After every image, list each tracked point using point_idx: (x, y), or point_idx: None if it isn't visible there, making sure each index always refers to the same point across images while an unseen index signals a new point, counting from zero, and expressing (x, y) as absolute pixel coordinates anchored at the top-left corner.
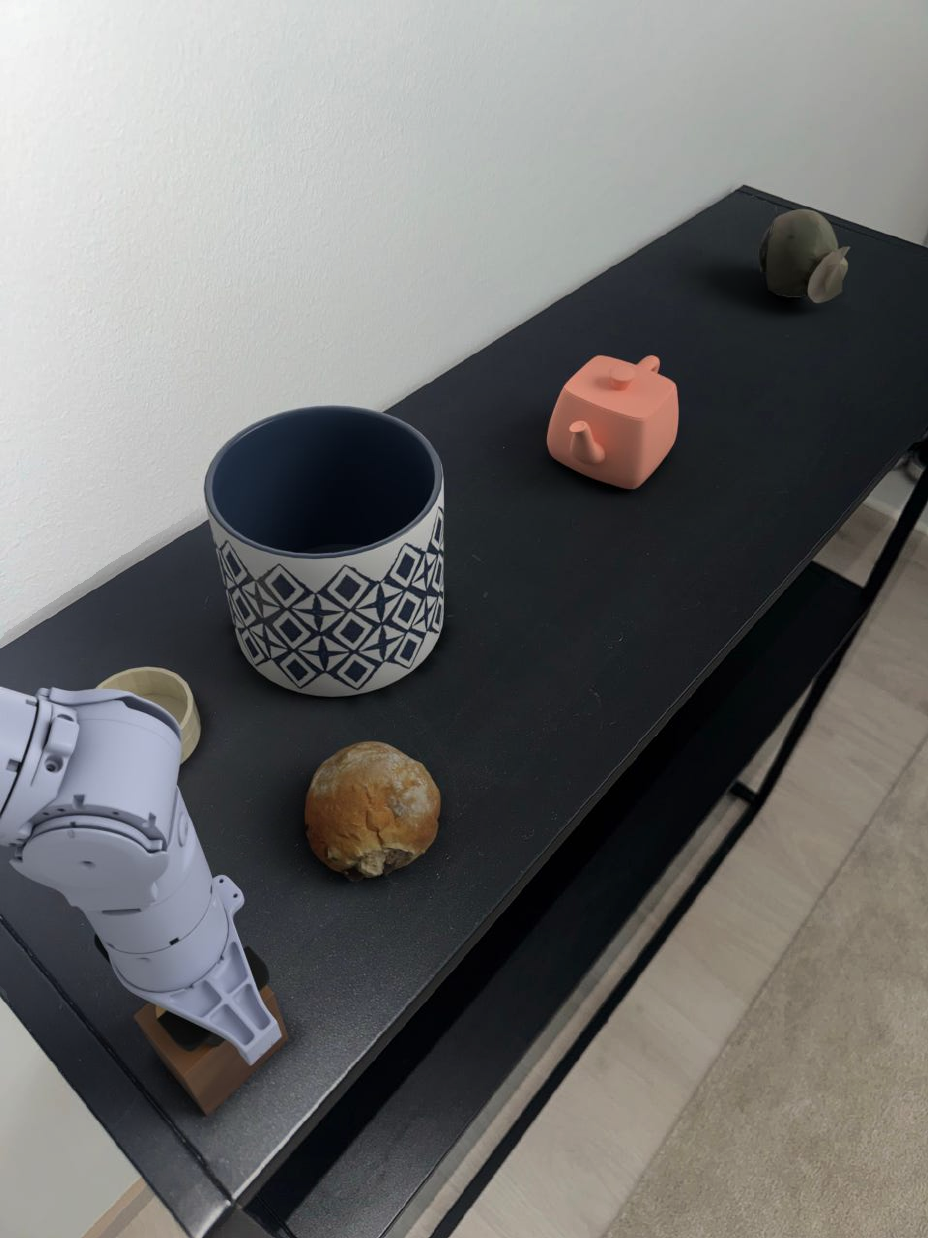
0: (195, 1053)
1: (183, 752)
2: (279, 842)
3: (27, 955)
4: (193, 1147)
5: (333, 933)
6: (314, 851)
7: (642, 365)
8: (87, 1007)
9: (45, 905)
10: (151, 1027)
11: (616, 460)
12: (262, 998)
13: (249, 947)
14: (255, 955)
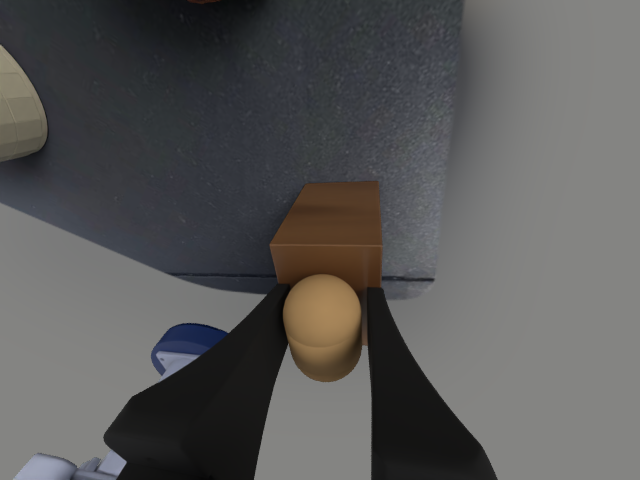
0: None
1: (4, 71)
2: (169, 38)
3: (191, 276)
4: (386, 277)
5: (317, 61)
6: (200, 1)
7: None
8: (247, 270)
9: (157, 252)
10: None
11: None
12: (376, 259)
13: (387, 463)
14: (419, 471)
